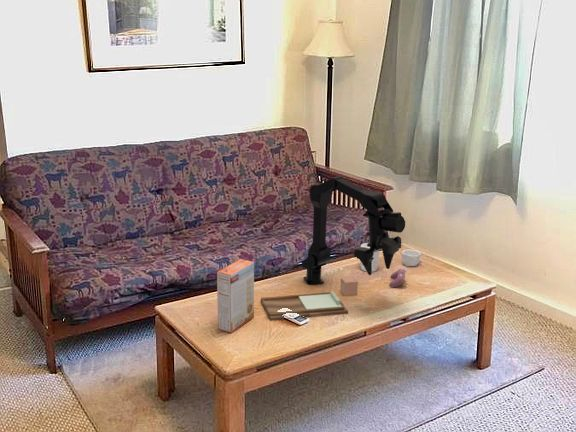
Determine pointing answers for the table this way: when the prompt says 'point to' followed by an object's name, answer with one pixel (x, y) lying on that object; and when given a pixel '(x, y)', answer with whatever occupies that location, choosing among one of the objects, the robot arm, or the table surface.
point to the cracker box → (235, 295)
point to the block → (348, 286)
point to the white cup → (374, 261)
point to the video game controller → (397, 278)
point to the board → (296, 307)
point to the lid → (320, 301)
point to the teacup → (410, 257)
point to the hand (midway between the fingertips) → (379, 271)
